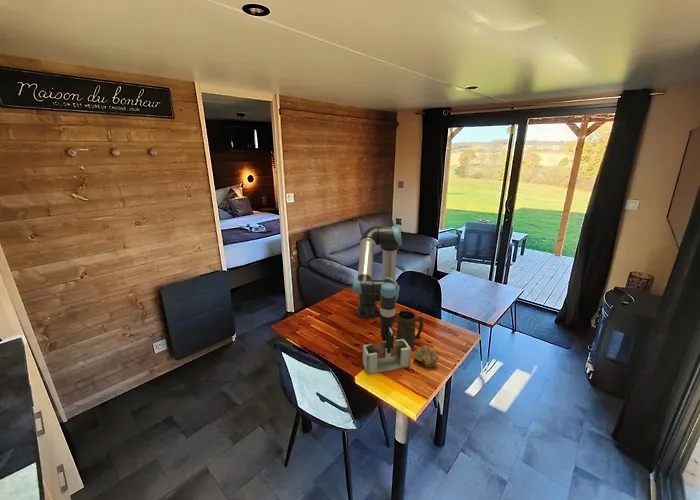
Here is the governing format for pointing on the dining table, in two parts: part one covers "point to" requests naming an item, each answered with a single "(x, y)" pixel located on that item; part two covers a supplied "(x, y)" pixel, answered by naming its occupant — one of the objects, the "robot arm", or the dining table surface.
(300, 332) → the dining table surface
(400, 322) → the beer stein
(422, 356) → the rock
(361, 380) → the dining table surface
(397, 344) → the rail
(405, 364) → the post bracket
